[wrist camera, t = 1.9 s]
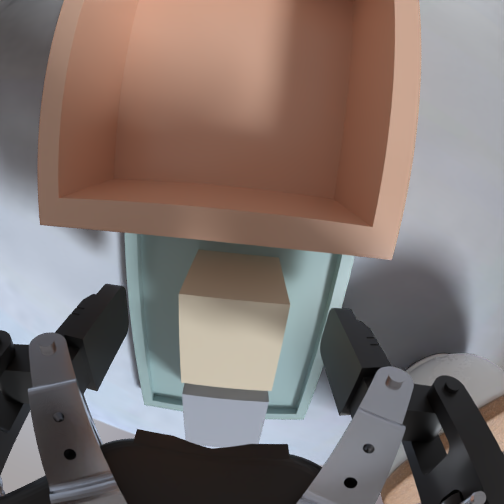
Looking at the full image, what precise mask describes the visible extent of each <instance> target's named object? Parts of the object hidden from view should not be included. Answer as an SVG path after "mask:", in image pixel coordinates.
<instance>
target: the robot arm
mask: <svg viewBox="0 0 504 504" xmlns="http://www.w3.org/2000/svg"><path fill="white" fill-rule="evenodd" d="M128 326H129V319H128V309H127V299H126V290H125V288H124V286H118V285H111V284H105V285H104V286H103V287H102V288H101V290H100V291H99V292H98V293H97V294H92V295H90V296H89V297H87V298H85V299H83V300H82V301H81V303H80V304H79V305H78V306H77V308H75V309H74V311H73V312H72V314H70V315H69V316H68V318H67V319H66V320H65V321H64V322H63V324H62V325H61V326H60V327H59V328H58V330H57V331H56V332H55V333H44V334H41V335H38V336H37V337H35V338H34V339H33V340H32V341H31V342H30V344H29V345H19V344H13V342H12V339H11V337H10V335H9V334H8V333H7V332H5V331H2V330H0V475H1V472H2V470H3V468H4V465H5V463H6V460H7V458H8V456H9V453H10V451H11V449H12V447H13V444H14V442H15V440H16V438H17V436H18V434H19V432H20V430H21V428H22V425H23V423H24V421H25V419H26V417H27V416H28V413H29V412H30V410H31V416H32V421H33V427H34V432H35V436H36V441H37V445H38V449H39V453H40V457H41V461H42V465H43V468H44V471H45V474H46V476H44V477H42V478H40V479H38V480H36V481H34V482H32V483H29V484H27V485H25V486H23V487H21V488H19V489H17V490H15V491H12V492H10V493H8V494H6V495H5V492H4V490H3V483H2V479H1V477H0V504H375V503H376V501H377V499H378V497H379V495H380V492H381V490H382V488H383V486H384V484H385V481H386V479H387V477H388V475H389V472H390V470H391V467H392V465H393V462H394V460H395V457H396V455H397V452H398V449H399V447H400V444H401V441H402V444H403V447H404V450H405V453H406V456H407V459H408V462H409V465H410V468H411V471H412V474H413V477H414V480H415V484H416V487H417V490H418V493H419V497H420V500H421V504H504V455H503V453H502V451H501V449H500V447H499V445H498V443H497V441H496V439H495V437H494V436H493V434H492V432H491V430H490V428H489V427H488V425H487V423H486V421H485V420H484V418H483V416H482V414H481V413H480V411H479V409H478V408H477V406H476V404H475V403H474V401H473V399H472V398H471V396H470V394H469V393H468V391H467V390H466V388H465V386H464V385H463V384H462V383H461V382H460V381H459V380H457V379H456V378H454V377H451V376H447V375H442V376H439V377H437V378H436V379H435V381H434V383H433V384H432V386H427V385H420V384H414V382H413V379H412V378H411V376H410V375H409V374H408V373H407V372H405V371H404V370H402V369H400V368H397V367H392V366H391V364H390V362H389V361H388V359H387V357H386V355H385V354H384V352H383V350H382V348H381V347H380V346H379V343H378V342H377V340H376V339H375V336H374V335H373V333H372V331H371V330H370V328H368V327H367V326H366V325H365V324H364V323H362V322H361V321H357V320H356V318H355V316H354V314H353V312H352V311H351V309H345V308H331V309H330V311H329V314H328V317H327V321H326V324H325V328H324V331H323V334H322V338H321V342H320V354H321V358H322V361H323V364H324V367H325V370H326V373H327V377H328V380H329V383H330V386H331V389H332V393H333V396H334V399H335V403H336V406H337V409H338V413H339V416H341V415H351V417H352V420H351V422H350V424H349V425H348V427H347V429H346V431H345V432H344V434H343V436H342V437H341V439H340V441H339V442H338V444H337V446H336V447H335V449H334V450H333V452H332V453H331V455H330V457H329V458H328V460H327V461H326V463H325V464H324V466H323V467H321V466H319V465H318V464H316V463H314V462H312V461H310V460H307V459H305V458H302V457H299V456H295V455H291V454H289V450H288V444H246V445H239V446H232V447H224V448H216V449H211V448H206V447H203V446H200V445H197V444H194V443H191V442H188V441H186V440H183V439H180V438H177V437H175V436H171V435H165V434H159V433H154V432H149V431H144V430H139V429H137V432H136V435H135V438H134V439H121V440H116V441H112V442H108V443H105V444H103V443H102V441H101V439H100V436H99V434H98V432H97V429H96V427H95V424H94V422H93V419H92V416H91V414H90V411H89V408H88V405H87V403H86V400H85V397H84V392H85V390H86V388H88V389H91V390H95V391H98V389H99V387H100V385H101V383H102V381H103V379H104V377H105V375H106V373H107V371H108V369H109V367H110V365H111V363H112V361H113V359H114V357H115V355H116V353H117V351H118V350H119V348H120V346H121V344H122V342H123V340H124V338H125V336H126V334H127V331H128ZM442 429H443V431H444V433H445V435H446V438H447V440H448V442H449V452H448V454H447V453H446V450H445V448H444V446H443V443H442V441H441V439H440V437H439V432H440V431H441V430H442Z"/></svg>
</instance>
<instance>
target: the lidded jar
mask: <svg viewBox="0 0 504 504" xmlns="http://www.w3.org/2000/svg"><path fill="white" fill-rule="evenodd" d="M405 372H407V373H408V374H409V375H410V376H411V378H412V379H413V382H414V384H420V385H427V386H432V384H433V383H434V381H435V379H436V378H437V377H439V376H442V375H447V376H451V377H454V378H456V379H457V380H459V381H460V382H461V383H462V384H463V385H464V386H465V388H466V390H467V391H468V393H469V394H470V396H471V398H472V399H473V401H474V403H475V404H476V406H477V408H478V409H479V411H480V413H481V414H482V416H483V418H484V420H485V421H486V423H487V425H488V427H489V428H490V430H491V432H492V434H493V436H494V437H495V439H496V441H497V443H498V445H499V447H500V449H501V451H502V452H503V450H504V370H502V369H501V368H500V367H499V366H497V365H496V364H495V363H493V362H491V361H490V360H488V359H486V358H484V357H481V356H478V355H475V354H468V353H455V354H446V353H440V354H435V355H431V356H429V357H426V358H424V359H422V360H420V361H418V362H417V363H415V364H413V365H412V366H411V367H409V368H408V369H407V370H406V371H405ZM439 437H440V439H441V441H442V443H443V446H444V448H445V450H446V453H447V454H448V452H449V442H448V440H447V438H446V435H445V433H444V431H443V429H442V430H441V431H440V432H439ZM381 497H382V500H383V503H384V504H416V503H419V502H421V500H420V497H419V493H418V490H417V487H416V484H415V480H414V477H413V474H412V471H411V468H410V465H409V462H408V459H407V456H406V453H405V450H404V447H403V444H402V441H401V444H400V447H399V449H398V452H397V455H396V457H395V460H394V462H393V465H392V467H391V470H390V472H389V475H388V477H387V479H386V481H385V484H384V486H383V488H382V490H381Z"/></svg>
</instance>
